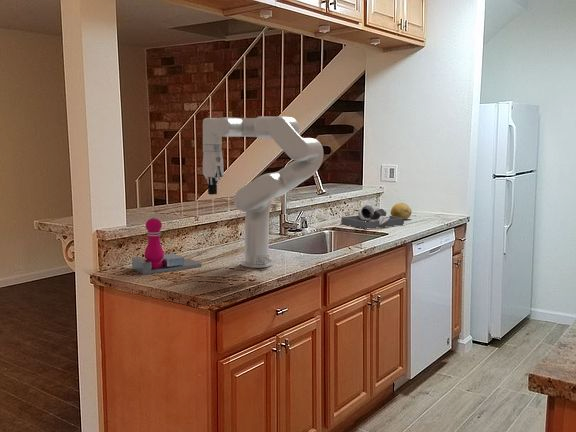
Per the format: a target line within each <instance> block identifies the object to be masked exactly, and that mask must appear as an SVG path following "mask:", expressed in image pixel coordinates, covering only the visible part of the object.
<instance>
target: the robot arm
mask: <svg viewBox="0 0 576 432" xmlns="http://www.w3.org/2000/svg"><path fill="white" fill-rule="evenodd" d="M299 130H300V124H299V122H298V121H297V120H296V118H294V117H291V116H282V115H278V116H268V115H267V116H261V115H259V116H257V117H219V118H217V117H205V118H204V119H203V120H202V153H203V154H202V175H203V176H204V179H205V180H206V181H207V194H208V195H210V196H211V195H212V196H213V195H217V194H218V184H219V183H218V182H219V181H221V178H223V177H224V175H225V173H224V170H225V169H224V157H223V149H222V147H223V142H222V141H223V140H222V139H223V138H227V137H228V138H229V137H230V138H233V137H235V138H236V137H239V138H240V137H247V138H248V137H249V138H257V139H258V140H259V139H261V140H262V139H263V140H265V139H266V140H269V139H270V140H273V141H274V143H276V145H277V146H278V147H279V148H280V149H281V150H282V151H283V152H284V153H285V154H286V155H287V157H289V158H290V159H291V160H293V161H292V162H291V163H289V164H287V165H286V166H284V167H283V168H281V169H280V170H278V171H275V172H269V173H264V174H262V175H259V176H257V177H256V178H255V179H253V180H252V181H249V183H246V184H245V185H244V186H242V187H241V188H239V189H238V190H237V191H236V193H235V195H234V197H233V202H234V206H235V209H236V210H238V211H240V212H242V213H245V217H244V259H242V260H241V261H240V265H241V266H242V267H244V268H245V267H246V268H251V269H260V268H261V269H262V268H269V267H271V266H272V265H273V260H272V259H270V254H269V246H270V245H269V242H270V241H269V240H270V239H269V237H270V233H269V232H270V230H269V229H270V227H269V226H270V211H271V204H272V199H276V198H279V197H282V196H284V195H286V194H288V192H290V191H292V190H293V189H294V188H296V187H298V186H299V185H300V184H302V183H304V182H305V181H306V180H309V179H310V178H311V177H312V176H313V175H315V174H316V172H317V171H318V170H319V169H320V167H321V166H322V163H323V160H324V148H323V145H322V144H321V142H320V141H319V140H318V139H316V138H312V137H302V136H301V135H300V134H299ZM222 137H223V138H222Z"/></svg>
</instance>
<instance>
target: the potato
mask: <svg viewBox="0 0 576 432" xmlns="http://www.w3.org/2000/svg"><path fill="white" fill-rule="evenodd" d="M390 216H395V217H400V218H404V220H407V219H409V218H410V217H411V216H412V209H411V207H410V206H409V205H408V204H406V203H401V202H399V203H396V204H395V205H393V206H392V207H391V209H390Z"/></svg>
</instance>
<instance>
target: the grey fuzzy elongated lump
mask: <svg viewBox="0 0 576 432" xmlns="http://www.w3.org/2000/svg"><path fill="white" fill-rule="evenodd" d="M357 216H359V217H360V219H361V220H362V221H367V220H369V219H370V220H371V221H380V222H379V225H381V224H383V223H384V222H386V221H388V220H389V218H390V216H391V215H389V214H388V213H387V211H385V209H383V208H379V209H378V208H377V209H375V210H374V208H373V207H372V205H371V206H370V205H364V206H363V207H361V208H360V209H359V210H358V213H357Z"/></svg>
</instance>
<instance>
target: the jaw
mask: <svg viewBox="0 0 576 432" xmlns="http://www.w3.org/2000/svg"><path fill="white" fill-rule="evenodd" d="M184 259H185V257H184V256H181V255H179V254H177V253H174V252H173V253H166V254H165V253H164V257H163V259H162V260H161V261H163V265H165V266H167V267H170V266H177V265H184Z"/></svg>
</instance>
